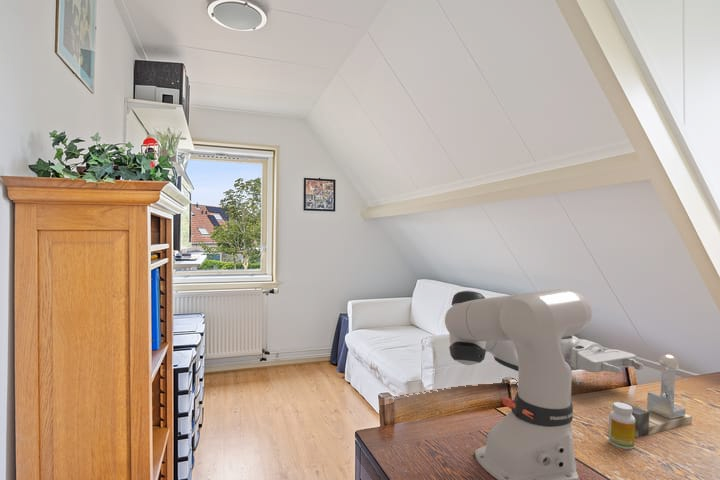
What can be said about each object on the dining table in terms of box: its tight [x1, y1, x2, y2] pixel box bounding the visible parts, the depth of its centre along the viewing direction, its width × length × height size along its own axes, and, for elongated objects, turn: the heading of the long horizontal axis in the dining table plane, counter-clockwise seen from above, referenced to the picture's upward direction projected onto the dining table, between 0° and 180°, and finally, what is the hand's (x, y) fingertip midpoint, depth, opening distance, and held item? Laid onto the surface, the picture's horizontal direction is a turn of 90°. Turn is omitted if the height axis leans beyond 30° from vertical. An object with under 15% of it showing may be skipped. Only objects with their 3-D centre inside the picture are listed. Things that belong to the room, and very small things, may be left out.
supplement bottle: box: [608, 401, 636, 450], centre depth 99 cm, size 5×5×10 cm
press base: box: [612, 400, 693, 438], centre depth 109 cm, size 22×7×6 cm, turn 111°
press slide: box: [646, 353, 687, 419], centre depth 111 cm, size 7×6×16 cm
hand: (631, 369), depth 121 cm, fingers open, 8 cm apart
